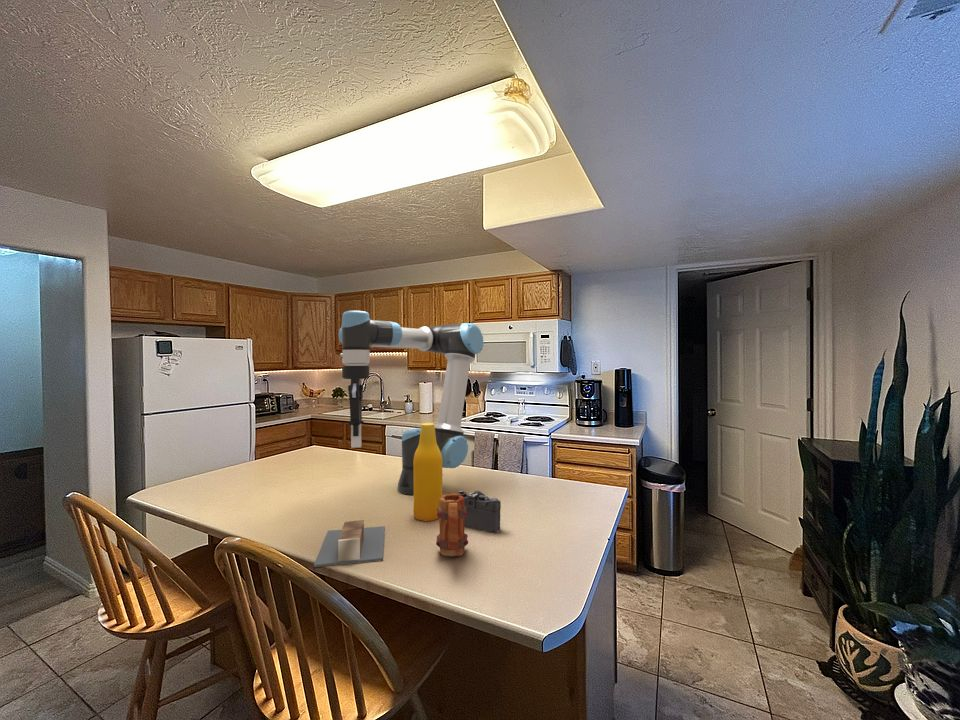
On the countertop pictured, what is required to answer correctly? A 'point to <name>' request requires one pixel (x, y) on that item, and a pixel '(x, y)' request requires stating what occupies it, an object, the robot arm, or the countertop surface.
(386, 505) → the countertop surface
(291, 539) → the countertop surface
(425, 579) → the countertop surface
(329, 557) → the mat
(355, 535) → the block
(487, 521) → the camera
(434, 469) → the beer bottle
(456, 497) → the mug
